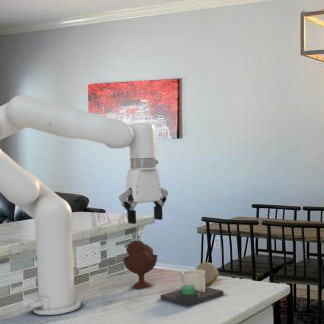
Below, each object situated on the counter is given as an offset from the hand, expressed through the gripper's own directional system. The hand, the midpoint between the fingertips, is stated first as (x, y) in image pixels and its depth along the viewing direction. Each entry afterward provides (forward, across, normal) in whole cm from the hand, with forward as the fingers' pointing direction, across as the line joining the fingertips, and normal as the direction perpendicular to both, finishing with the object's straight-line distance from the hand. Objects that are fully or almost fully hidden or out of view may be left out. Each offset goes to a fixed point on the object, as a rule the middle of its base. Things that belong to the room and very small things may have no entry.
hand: (145, 221), depth 163 cm
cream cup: (+21, -8, +12) cm, 25 cm away
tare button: (+20, -2, +17) cm, 26 cm away
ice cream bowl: (+22, -5, -10) cm, 25 cm away
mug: (+22, -21, +4) cm, 31 cm away
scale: (+22, -6, +13) cm, 27 cm away
